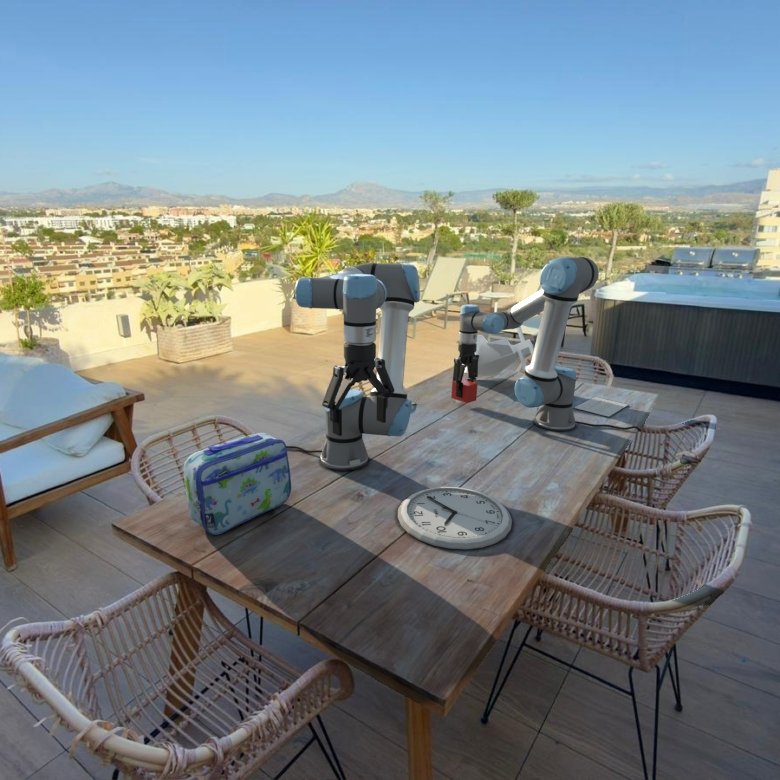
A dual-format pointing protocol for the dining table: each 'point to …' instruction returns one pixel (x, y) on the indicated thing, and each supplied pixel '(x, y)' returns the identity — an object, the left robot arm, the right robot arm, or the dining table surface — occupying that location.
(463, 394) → the block
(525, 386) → the right robot arm
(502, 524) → the wall clock
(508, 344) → the white plastic object
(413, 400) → the fork
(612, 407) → the invitation card
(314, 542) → the dining table surface
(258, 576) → the dining table surface
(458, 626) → the dining table surface
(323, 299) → the left robot arm
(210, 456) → the lunch box
